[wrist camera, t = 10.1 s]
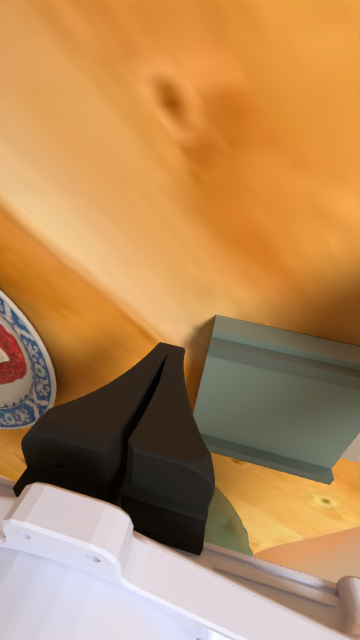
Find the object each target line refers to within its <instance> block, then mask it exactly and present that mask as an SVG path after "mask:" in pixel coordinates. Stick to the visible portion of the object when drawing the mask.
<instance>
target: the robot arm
mask: <svg viewBox="0 0 360 640" xmlns="http://www.w3.org/2000/svg"><path fill="white" fill-rule="evenodd" d="M184 354H185V349H184V348H183V347H179V346H174V345H170V344H166V343H162V342H160V343H158V345H157V346H156V347H155V348H154V349H153V350H152V351H151V352H150V353H149V354H147V355H146V356H145V357H144V358H143V359H142V360H141V361H139V362H138V363H137V364H136V365H135V366H133V367H132V368H131V369H129V370H128V371H127V372H125V373H124V374H123V375H121V376H120V377H118V378H117V379H115V380H114V381H112V382H110V383H109V384H107V385H105V386H103V387H101V388H100V389H98V390H96V391H94V392H92V393H90V394H87V395H85V396H83V397H81V398H78V399H76V400H73V401H71V402H68V403H65V404H62V405H59V406H56V407H53V408H50V409H48V410H47V411H46V412H45V413H44V414H43V415H42V416H41V417H40V418H39V419H38V420H37V421H36V422H35V424H34V425H33V426H32V427H31V429H30V430H29V431H28V432H27V434H26V435H25V436H24V437H23V439H22V442H21V445H22V451H23V454H24V457H25V461H26V464H27V469H26V470H25V471H24V473H23V474H22V476H21V477H20V478H19V480H18V481H17V482H14V481H11V480H8V479H4V478H1V477H0V640H360V578H359V577H354V576H345V577H342V578H341V579H340V580H339V581H338V582H337V583H334V582H331V581H328V580H325V579H321V578H319V577H315V576H312V575H309V574H306V573H302V572H299V571H296V570H293V569H290V568H287V567H283V566H280V565H277V564H274V563H271V562H268V561H264V560H261V559H258V558H255V557H252V556H249V555H246V554H242V553H239V552H236V551H233V550H230V549H227V548H223V547H220V546H217V545H214V544H211V543H208V542H204V536H205V526H206V522H207V518H208V509H209V506H210V503H211V501H212V498H213V496H214V492H215V477H214V469H213V463H212V458H211V454H210V452H209V450H208V448H207V446H206V444H205V442H204V440H203V438H202V436H201V434H200V431H199V429H198V426H197V424H196V421H195V418H194V416H193V413H192V410H191V407H190V403H189V399H188V395H187V390H186V385H185V378H184V366H183V361H184ZM120 504H121V506H120Z"/></svg>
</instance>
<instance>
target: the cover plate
mask: <svg viewBox="0 0 360 640" xmlns="http://www.w3.org/2000/svg"><path fill="white" fill-rule="evenodd" d="M340 458H343V459H347V460H351V461H355V462H359V463H360V433H359V434H358V435H357V437H356V438H355V439H354V440H353V442H352V443H351V444H350V446H349V447H348V448H347V449H346V451H345V452H344V453H343V454H342V456H341V457H340Z"/></svg>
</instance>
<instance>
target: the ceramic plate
mask: <svg viewBox="0 0 360 640" xmlns="http://www.w3.org/2000/svg"><path fill="white" fill-rule="evenodd" d="M56 392H57V384H56V377H55V371H54V368H53V365H52V362H51V359H50V356H49V354H48V352H47V350H46V348H45V346H44V344H43V342H42V340H41V338H40V337H39V335H38V334H37V332H36V331H35V329H34V328H33V326H32V325H31V323H30V322H29V321H28V320H27V318H26V317H25V316H24V314H23V313H22V312H21V311H20V310H19V309H18V307H17V306H16V305H15V304H14V303H13V302H12V301H11V300H10V299H9V298H8V297H7V296H6V295H5V294H4V293H3V292H2V291H1V290H0V429H8V430H12V429H22V428H27V427H31V426H33V425H34V424H35V422H36V421H37V420H38V419H39V418H40V417H41V416H42V415H43V414H44V413H45V412H46V411H47V410H48V409H50V408H52V407H53V405H54V402H55V399H56Z"/></svg>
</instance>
